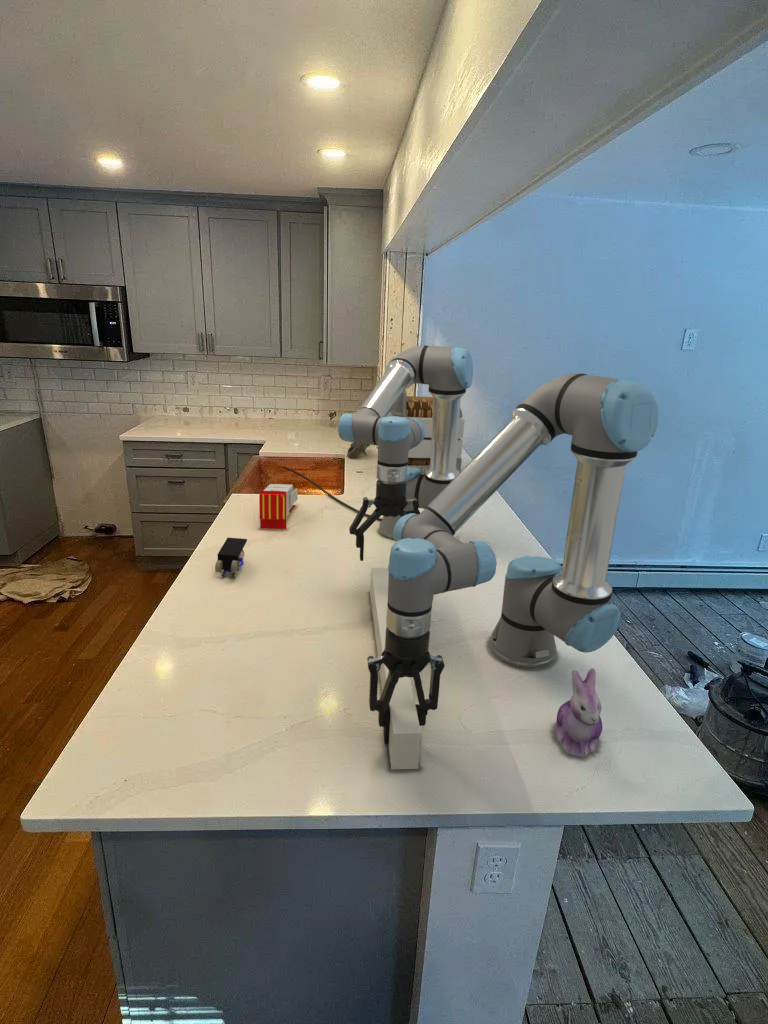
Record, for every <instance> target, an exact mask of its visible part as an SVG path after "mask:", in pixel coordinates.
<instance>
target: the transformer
mask: <svg viewBox="0 0 768 1024" xmlns="http://www.w3.org/2000/svg"><path fill="white" fill-rule="evenodd" d="M407 394H408V393H407V390H406V389H405V390H404V392H403V393H402V395H401V396H400V398H399V399H398V401H397V402H396V404H395V405H394V407H393V408H392V409H391V411H390V412H389V414H388V415H387V417H389V416H396V417H404V418H415V419H418V420H419V421H420V422H421V423H422V424H423V426H424V429H425V435H424V438H423V440H422V441H421V442H420V443H419V444H418V446H416V447H414V448H412V449H410V450H409V453H408V466H407V467H417V466H418V467H430V458H431V435H432V412H433V396H415V395H414V396H413V395H412V396H411V395H407ZM464 429H465V419H464V418H463V411H462V408H461V407H460V415H459V430H458V445H457V460H456V469H457V470H458V471H459V472H461V471H462V461H463V460H462V453H463V442H464V441H463V440H462V439H463V438H464V431H465V430H464Z"/></svg>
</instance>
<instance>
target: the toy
mask: <svg viewBox="0 0 768 1024" xmlns="http://www.w3.org/2000/svg"><path fill="white" fill-rule="evenodd" d="M258 495H259V497H258V500H259V501H258V503H259V529H260V530H287V517H288V516H289V514H290V513H292V512H293V510H294V509H295V507H296V504H295V503H296V502H297V501H299V500H298V498H299V496H298V488H295V489H294V484H290V483H289V484H288V483H287V484H284V483H269V485H268V486H266V487H265V489H263V490H259V494H258Z"/></svg>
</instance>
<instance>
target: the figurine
mask: <svg viewBox="0 0 768 1024" xmlns="http://www.w3.org/2000/svg"><path fill="white" fill-rule="evenodd" d="M596 672H597V671H596V669H595V668H593V667H591V668H590V669H588V671H587V673H586V677H585V678H584V679H583V678H582V677H581V674H580V673H579V672H578V671H577V670H576V669H572V670H571V677H572V678H571V680H572V681H571V682H572V695H571V697H570V699H569V700H567V701H565V702H563V703H562V704H561V705H560V706H559V707H558V710H557V713H556V719H555V720H556V721H555V725H554V730H555V736H556V740H557V741H558V742H559V744H560V745H561V746H562V748H563V750H564V752H565V753H566V754H568V755H571V756H572V755H573V756H576V757H582V758H583V757H586V756H588V754H589V753H593V752H595V751H596V749H597V745H598V743H599V738H600V736H601V734H602V732H603V721H602V717H601V712H602V703H601V699H600V697H599V695H598V693H597V691H596V690H597V689H596V678H597V673H596Z"/></svg>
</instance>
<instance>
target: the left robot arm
mask: <svg viewBox="0 0 768 1024" xmlns="http://www.w3.org/2000/svg"><path fill="white" fill-rule="evenodd" d="M473 377H474V363H473V358H472V355H471V352H470V351H469V349H466V348H462V347H456V346H445V345H444V346H443V345H426V344H419V345H415V346H411V347H409V348H406V349H405V350H403V351H400V352H399V353H398V354H396V355H395V356H394V357H392V359H390V361H389V362H388V363H387V365H386V366H385V368H384V374H383V376H382V377H381V378H380V380H379V381H378V382H377V384H376V385H375V387H374V388H373V389H372V391H370V393H369V394H368V396H367V398H366V399H365V400H364V402H363V403H362V404H361V405H360V406H359V408H358V409H357V410H356V412H355V413H353V412H350V413H347V412H345V413H343V414H342V415H341V416H340V418H339V421H338V424H337V425H338V426H337V431H338V436H339V439H340V440H342V441H344V442H348V443H360V444H369V445H370V446H377V461H376V479H377V480H376V483H375V497H374V498H373V499H372V498H368V496H364V497H363V498H362V504H361V506H360V508H359V509H357V508H354V507H352V506H350V505H349V504H347V503H345V502H343V501H341V500H340V499H338V498H337V497H335V496H334V495H332V494H331V493H329V492H328V491H327V490H325V489H324V488H323V487H322V486H320V485H319V484H317V483H316V482H314V481H313V480H311V479H310V478H309V477H307V476H305V475H304V474H301V473H299V472H297V471H296V470H294V469H291V468H289V467H286V466H284V465H282V468H283V469H284V470H287V471H289V472H291V473H294V474H296V475H297V476H299V477H301V478H302V479H304V480H306V481H307V482H309V483H310V484H312V485H314V486H315V487H316V488H318V489H319V490H320V491H322V492H323V493H324V494H326V495H328V497H330V498H331V499H333V500H335V501H336V502H338V503H339V504H341V505H343V506H344V507H345V508H348V509H350V510H352V511H354V512H355V513H357V514H356V515H355V517H354V519H353V520H352V523H351V524H350V526H349V528H348V531H349V534H350V535H355V547H356V549H359V561H360V562H364V553H365V535H364V533H365V532H367V530H368V529H369V528H370V527H371V526H372V525H373V524H374V523H375V522H376V521H379V526H378V533H379V534H380V535H381V536H382V537H385V538H387V539H389V540H394V535H393V533H394V527H395V525H396V523H397V521H398V520H399V519H400V518H401V517H402V516H405V515H407V514H410V513H415V514H420V513H421V511H420V509H423V510H424V509H425V508H426V507H427V506H428V505H429V504H430V503H431V502H432V501H433V500H434V499H435V498H436V497H437V496H438V495H439V494H440V493H441V492H442V490H443V489H444V488H445V487H446V486H447V485H448V484H449V483H450V482H451V481H452V480H453V479H454V478H455V477H456V476H457V475H458V474H459V473H460V472H459V471H458V470H457V469H456V460H457V445H458V430H459V415H460V408H461V399H462V397H463V396H464V395H466V393H467V389H469V388H471V386H472V385H473ZM414 384H420V385H428V393H429V394H430V395H431V397H433V412H432V435H431V458H430V466H429V468H427V469H426V470H425V471H424V472H425V473H422V469H421V468H419V467H417V466H408V453H409V450H410V449H412V448H414V447H416V446H418V444H419V443H420V442H421V441H422V440H423V438H424V435H425V429H424V426H423V424H422V423H421V422H420V421H419V420H418V419H415V418H404V417H396V416H389V417H387V415H388V414H389V412H390V411H391V409H392V408H393V407H394V405H395V404H396V402H397V401H398V399H399V398H400V396H401V395H402V393H403V392H404V390H406V389H409V388H410V387H412V386H413V385H414ZM372 505H373V506H374V507H375V509H374V510H373V512H372V513H371V514H369V513H368V514H367V512H368V509H369V508H371V507H372ZM381 516H382V517H381ZM364 517H367V518H366V519H365V520H364V521H363V519H364ZM380 517H381V518H380ZM362 521H363V522H362ZM361 523H362V524H361ZM359 525H360V526H359Z"/></svg>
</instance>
